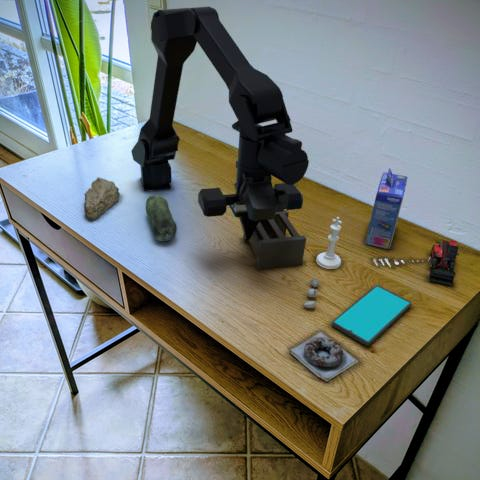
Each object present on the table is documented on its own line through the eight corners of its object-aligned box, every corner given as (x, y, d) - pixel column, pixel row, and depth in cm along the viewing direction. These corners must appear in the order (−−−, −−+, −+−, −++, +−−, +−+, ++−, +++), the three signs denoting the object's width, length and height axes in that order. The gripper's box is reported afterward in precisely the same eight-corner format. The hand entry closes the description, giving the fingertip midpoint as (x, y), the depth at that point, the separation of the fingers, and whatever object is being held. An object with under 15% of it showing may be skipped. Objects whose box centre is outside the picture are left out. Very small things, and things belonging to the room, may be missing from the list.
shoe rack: (258, 269, 95) (261, 243, 91) (242, 239, 103) (244, 213, 99) (302, 264, 97) (306, 238, 93) (283, 235, 105) (286, 209, 101)
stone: (62, 204, 103) (72, 225, 106) (92, 200, 101) (102, 221, 104) (89, 178, 113) (98, 197, 116) (117, 173, 111) (125, 193, 114)
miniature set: (370, 260, 100) (373, 254, 99) (424, 257, 102) (426, 251, 101) (376, 269, 98) (378, 263, 97) (430, 266, 100) (433, 260, 99)
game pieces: (319, 283, 92) (309, 284, 93) (318, 274, 91) (308, 275, 91) (315, 312, 87) (304, 312, 87) (314, 303, 85) (303, 303, 86)
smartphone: (412, 302, 88) (368, 343, 80) (411, 306, 89) (367, 346, 80) (376, 284, 92) (331, 321, 83) (375, 287, 92) (330, 325, 84)
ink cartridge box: (369, 222, 111) (385, 160, 101) (394, 227, 110) (413, 165, 100) (363, 244, 104) (379, 180, 94) (389, 250, 103) (409, 185, 93)
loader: (452, 287, 94) (460, 266, 91) (427, 281, 95) (435, 261, 92) (451, 254, 103) (459, 234, 100) (429, 249, 104) (436, 230, 101)
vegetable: (140, 194, 105) (163, 187, 105) (147, 214, 108) (168, 208, 109) (151, 229, 95) (176, 221, 96) (158, 250, 99) (182, 243, 99)
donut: (287, 350, 78) (289, 341, 77) (321, 332, 82) (323, 323, 81) (324, 383, 74) (327, 373, 72) (358, 361, 78) (361, 352, 76)
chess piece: (334, 272, 96) (344, 227, 89) (311, 263, 97) (320, 218, 91) (344, 260, 99) (355, 216, 92) (322, 252, 101) (331, 208, 94)
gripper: (212, 186, 78) (210, 267, 88) (321, 178, 82) (307, 256, 93) (197, 157, 86) (197, 234, 96) (297, 152, 90) (286, 226, 100)
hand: (247, 238), depth 96 cm, fingers closed
